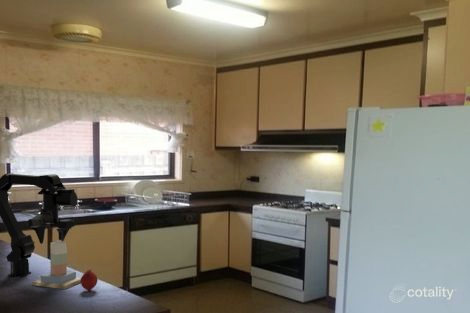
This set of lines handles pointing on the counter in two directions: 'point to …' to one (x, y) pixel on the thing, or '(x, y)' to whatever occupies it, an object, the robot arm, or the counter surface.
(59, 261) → the brick column
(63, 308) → the counter surface
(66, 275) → the base brick
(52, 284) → the board
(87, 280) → the onion
